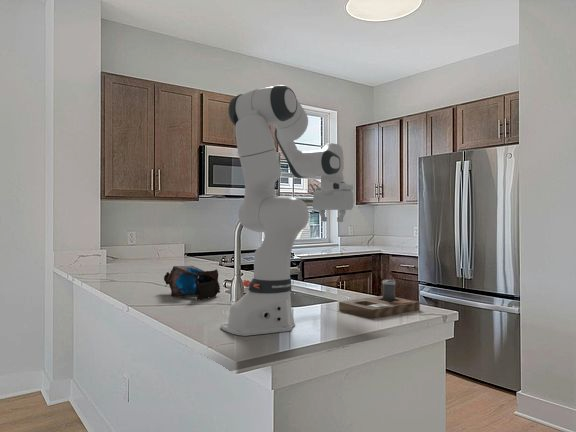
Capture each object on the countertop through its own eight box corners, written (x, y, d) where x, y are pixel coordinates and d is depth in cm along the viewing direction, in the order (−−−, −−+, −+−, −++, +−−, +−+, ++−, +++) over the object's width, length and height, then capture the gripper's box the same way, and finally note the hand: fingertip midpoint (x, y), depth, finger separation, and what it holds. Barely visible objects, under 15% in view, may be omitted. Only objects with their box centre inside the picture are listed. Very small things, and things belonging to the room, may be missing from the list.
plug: (389, 309, 161) (389, 281, 161) (379, 307, 165) (379, 280, 165) (397, 308, 164) (398, 280, 164) (388, 306, 167) (388, 279, 167)
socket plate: (372, 319, 146) (372, 308, 146) (339, 310, 159) (339, 301, 159) (419, 310, 160) (419, 301, 160) (385, 303, 173) (385, 294, 173)
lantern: (211, 314, 180) (165, 304, 193) (229, 280, 189) (184, 272, 202) (191, 292, 169) (144, 282, 182) (211, 257, 178) (165, 250, 191)
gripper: (309, 187, 182) (308, 221, 182) (344, 184, 165) (343, 222, 165) (321, 187, 186) (320, 221, 186) (356, 185, 169) (356, 222, 169)
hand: (331, 221), depth 175 cm, fingers open, 8 cm apart
